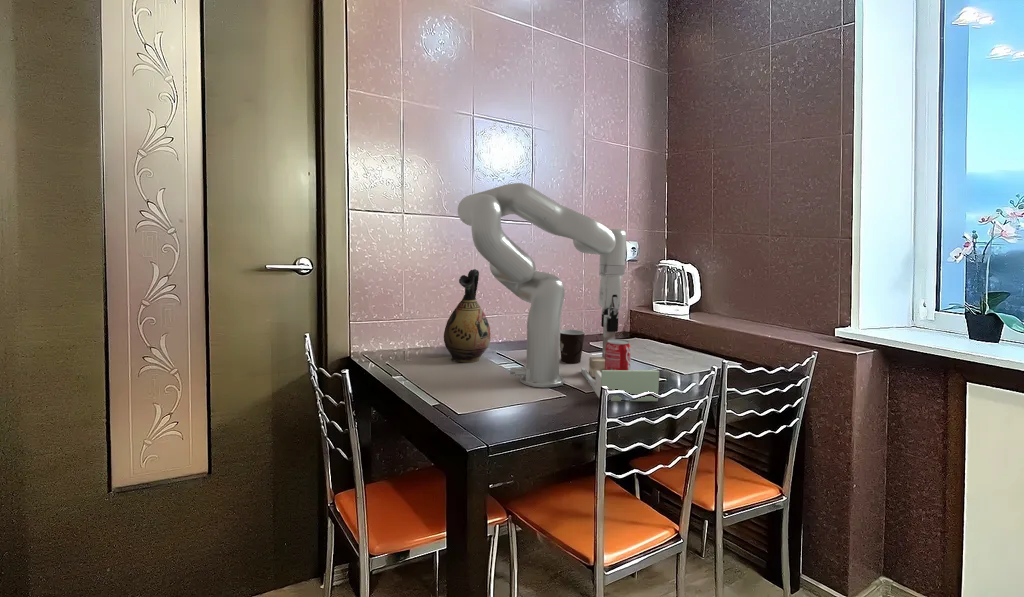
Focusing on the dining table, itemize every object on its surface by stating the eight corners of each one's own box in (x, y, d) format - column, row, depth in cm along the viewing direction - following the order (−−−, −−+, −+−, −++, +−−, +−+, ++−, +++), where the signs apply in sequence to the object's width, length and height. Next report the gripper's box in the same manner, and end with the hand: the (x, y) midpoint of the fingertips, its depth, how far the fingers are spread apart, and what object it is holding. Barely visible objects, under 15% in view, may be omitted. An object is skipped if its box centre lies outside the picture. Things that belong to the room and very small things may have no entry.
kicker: (592, 377, 170) (594, 317, 167) (588, 372, 175) (590, 314, 173) (628, 377, 170) (631, 318, 168) (623, 372, 176) (626, 315, 173)
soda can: (629, 390, 158) (631, 344, 156) (603, 388, 160) (605, 343, 158) (629, 383, 165) (631, 339, 163) (604, 381, 166) (606, 337, 165)
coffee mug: (558, 357, 194) (559, 329, 193) (583, 359, 193) (585, 330, 192) (556, 366, 183) (557, 335, 181) (583, 367, 182) (584, 337, 180)
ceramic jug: (482, 367, 180) (484, 272, 176) (436, 363, 183) (437, 270, 179) (496, 355, 196) (498, 268, 192) (454, 351, 200) (454, 266, 196)
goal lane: (601, 401, 148) (602, 371, 147) (581, 371, 177) (582, 346, 176) (657, 401, 149) (659, 371, 148) (628, 371, 178) (630, 346, 176)
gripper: (593, 267, 178) (591, 323, 181) (605, 273, 161) (603, 334, 163) (617, 268, 179) (614, 324, 181) (632, 273, 161) (629, 335, 164)
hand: (609, 328), depth 172 cm, fingers open, 6 cm apart
